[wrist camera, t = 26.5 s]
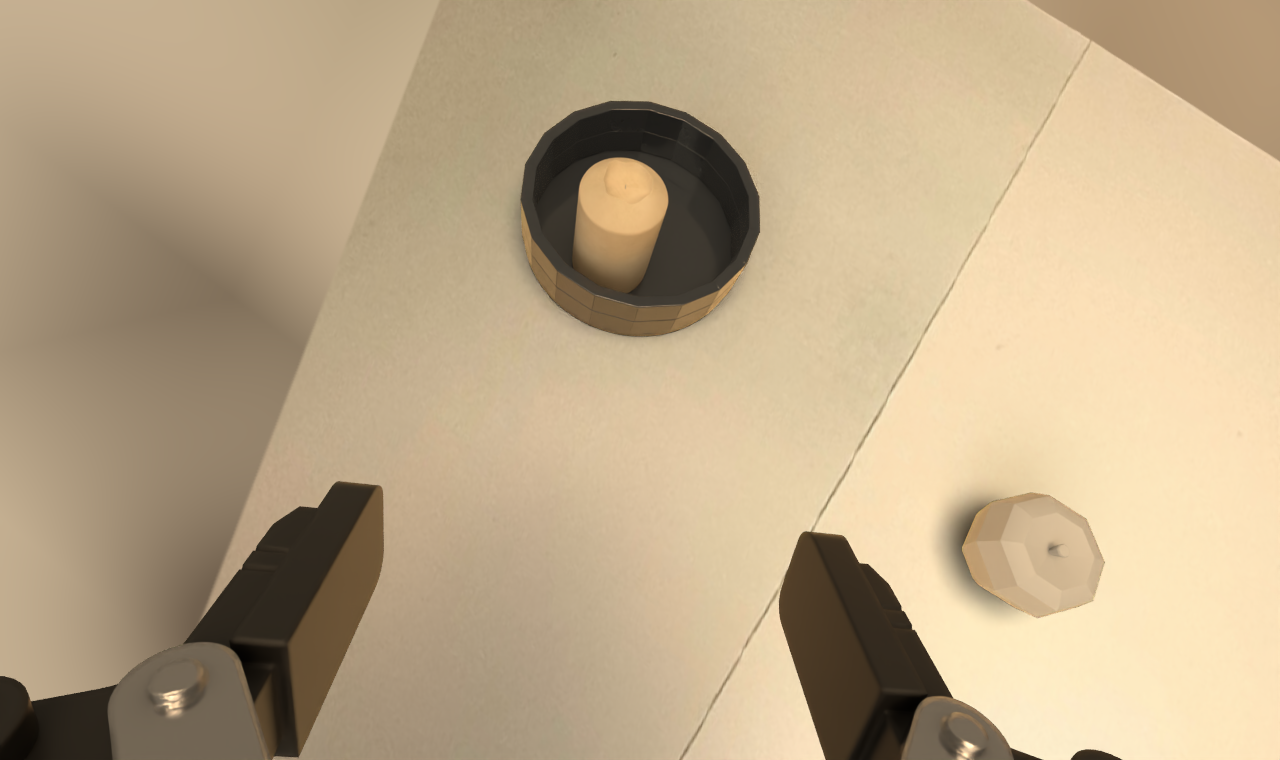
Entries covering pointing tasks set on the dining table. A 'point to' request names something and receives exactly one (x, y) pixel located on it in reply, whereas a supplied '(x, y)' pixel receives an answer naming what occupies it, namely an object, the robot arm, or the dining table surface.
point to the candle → (618, 222)
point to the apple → (1034, 554)
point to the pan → (690, 232)
